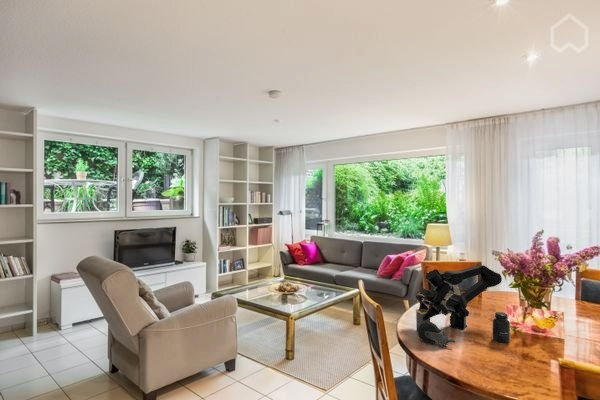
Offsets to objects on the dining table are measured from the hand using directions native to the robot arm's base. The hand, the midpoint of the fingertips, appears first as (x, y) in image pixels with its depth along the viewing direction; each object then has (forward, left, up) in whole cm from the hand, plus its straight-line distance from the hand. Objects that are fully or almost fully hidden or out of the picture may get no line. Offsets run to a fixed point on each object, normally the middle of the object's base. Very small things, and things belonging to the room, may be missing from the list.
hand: (420, 317), depth 169 cm
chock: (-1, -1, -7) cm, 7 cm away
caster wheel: (-11, +10, -7) cm, 16 cm away
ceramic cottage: (+3, -47, -7) cm, 47 cm away
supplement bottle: (-32, -12, -7) cm, 35 cm away
